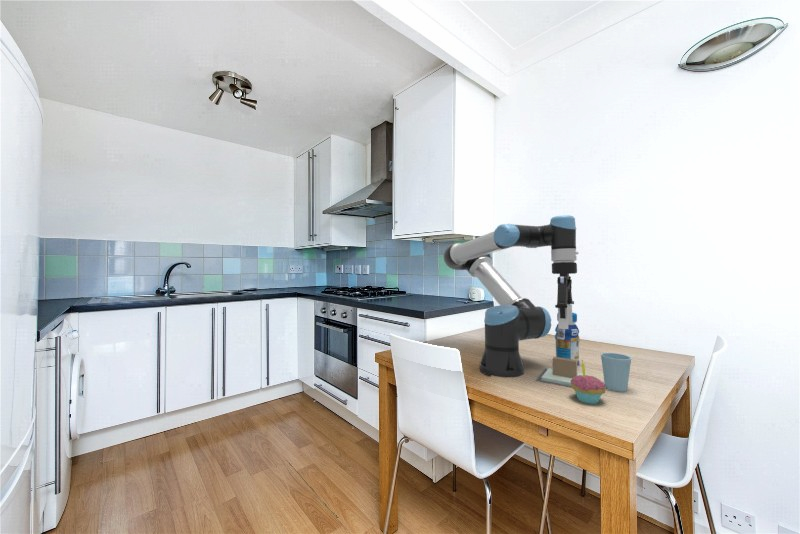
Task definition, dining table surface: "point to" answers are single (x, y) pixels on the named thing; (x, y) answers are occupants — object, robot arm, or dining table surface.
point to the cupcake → (587, 387)
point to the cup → (616, 371)
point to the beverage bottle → (568, 340)
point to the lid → (561, 371)
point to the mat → (549, 382)
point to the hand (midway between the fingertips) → (565, 325)
